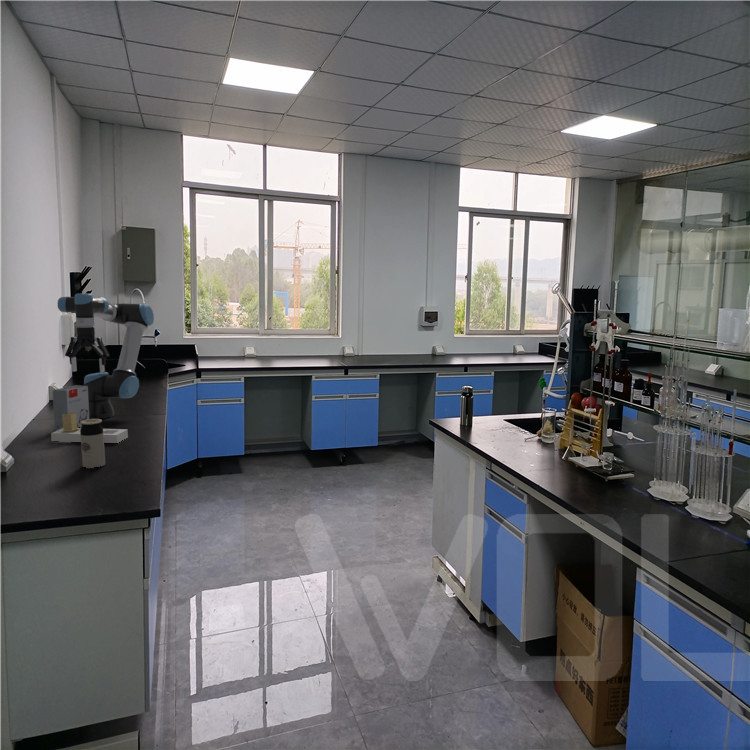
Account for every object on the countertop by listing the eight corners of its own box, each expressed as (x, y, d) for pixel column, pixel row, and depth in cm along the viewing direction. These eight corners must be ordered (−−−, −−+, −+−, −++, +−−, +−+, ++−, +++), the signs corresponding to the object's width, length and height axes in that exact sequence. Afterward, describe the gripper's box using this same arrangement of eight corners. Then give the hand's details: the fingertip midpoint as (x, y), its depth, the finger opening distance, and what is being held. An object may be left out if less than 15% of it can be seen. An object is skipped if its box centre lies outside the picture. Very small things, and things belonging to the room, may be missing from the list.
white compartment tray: (64, 436, 264) (64, 427, 263) (128, 437, 262) (127, 429, 262) (51, 441, 254) (50, 433, 253) (117, 443, 253) (116, 435, 252)
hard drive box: (68, 432, 271) (65, 391, 267) (54, 431, 272) (51, 390, 269) (90, 424, 286) (88, 385, 283) (77, 423, 287) (74, 384, 284)
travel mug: (97, 461, 228) (94, 417, 225) (109, 464, 224) (106, 420, 221) (78, 466, 221) (75, 421, 218) (90, 470, 217) (87, 424, 215)
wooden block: (69, 438, 261) (67, 412, 259) (77, 438, 261) (75, 412, 259) (64, 440, 257) (62, 414, 255) (72, 440, 257) (70, 414, 255)
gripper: (54, 326, 263) (58, 372, 267) (107, 327, 262) (110, 373, 266) (64, 325, 271) (67, 369, 274) (115, 326, 270) (118, 370, 273)
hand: (88, 371), depth 270 cm, fingers open, 13 cm apart
